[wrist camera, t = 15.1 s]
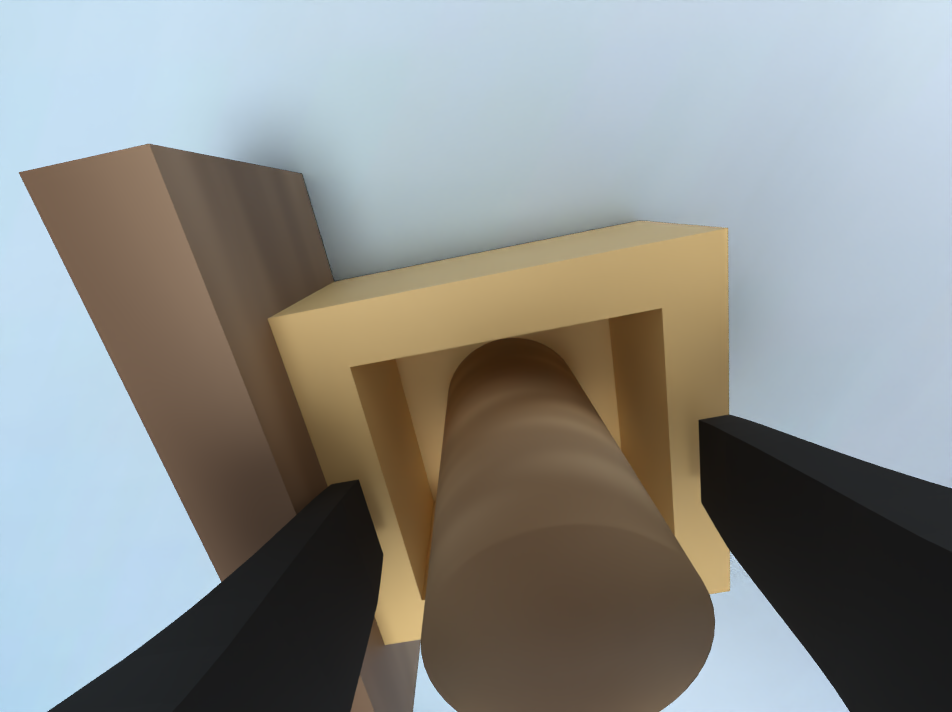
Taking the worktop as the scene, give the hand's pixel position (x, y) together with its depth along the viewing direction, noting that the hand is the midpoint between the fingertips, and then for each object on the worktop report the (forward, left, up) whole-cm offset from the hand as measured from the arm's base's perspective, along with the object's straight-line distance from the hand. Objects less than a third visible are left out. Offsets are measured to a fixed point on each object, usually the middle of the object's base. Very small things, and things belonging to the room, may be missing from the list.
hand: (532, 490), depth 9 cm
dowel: (0, 0, -4) cm, 4 cm away
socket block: (0, 0, -5) cm, 5 cm away
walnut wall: (+6, 0, -5) cm, 8 cm away
